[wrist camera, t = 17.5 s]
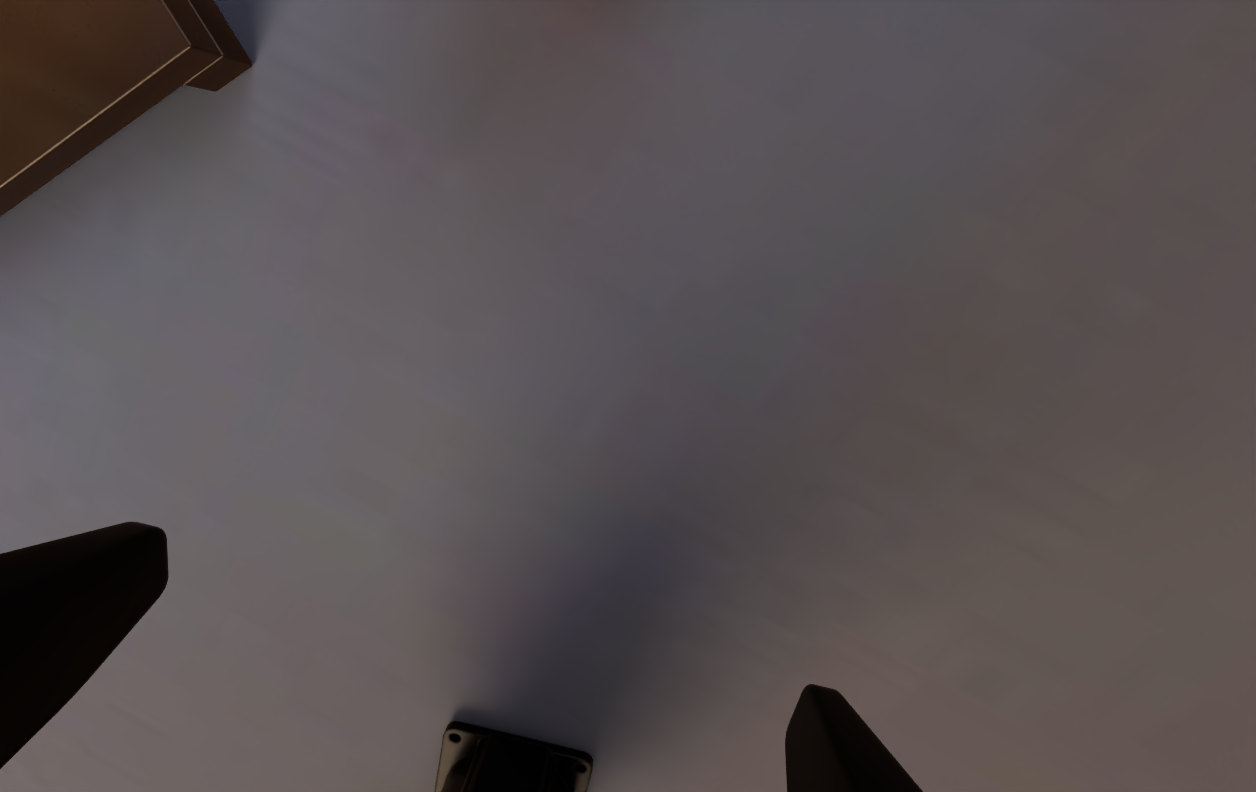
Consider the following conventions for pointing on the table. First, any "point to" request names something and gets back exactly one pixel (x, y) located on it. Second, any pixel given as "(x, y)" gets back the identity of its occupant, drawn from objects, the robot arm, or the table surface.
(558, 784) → the robot arm
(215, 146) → the table surface
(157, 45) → the dark brown wooden piece
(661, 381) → the table surface
